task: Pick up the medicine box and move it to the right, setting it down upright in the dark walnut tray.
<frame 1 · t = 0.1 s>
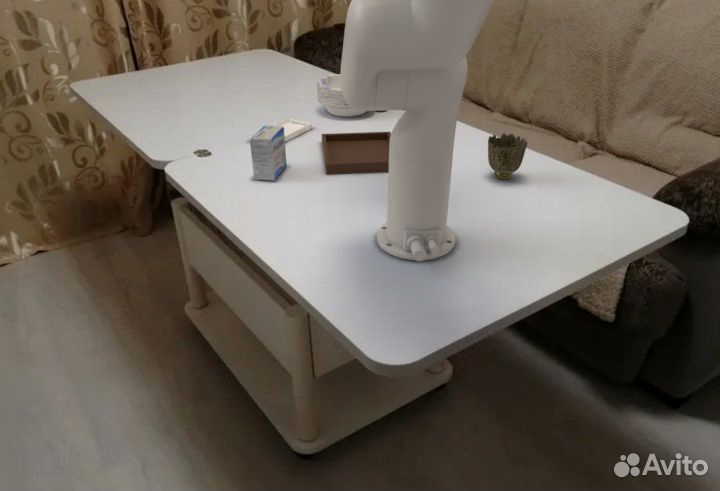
medicine box: (270, 173, 120), on the table
phone case: (281, 135, 139), on the table
tray: (360, 156, 128), on the table
cup: (502, 178, 118), on the table
paper bowls: (347, 112, 154), on the table
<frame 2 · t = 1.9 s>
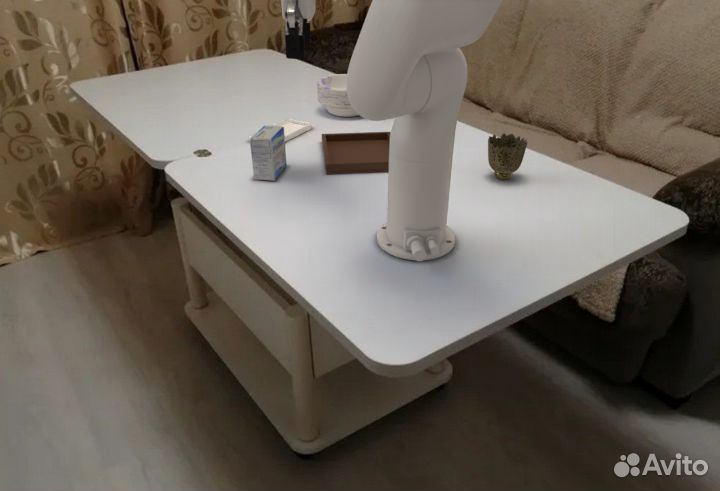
hand: (298, 51, 107), 24 cm above the table, tool pointing down, fingers open, 9 cm apart
nothing on the table moved.
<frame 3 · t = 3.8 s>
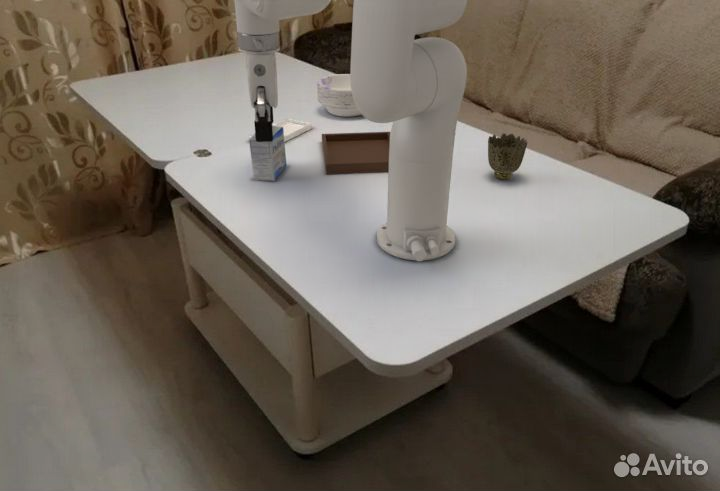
hand: (265, 131, 116), 9 cm above the table, tool pointing down, fingers open, 9 cm apart
medicine box: (270, 174, 120), on the table, touching gripper
everything else where it was.
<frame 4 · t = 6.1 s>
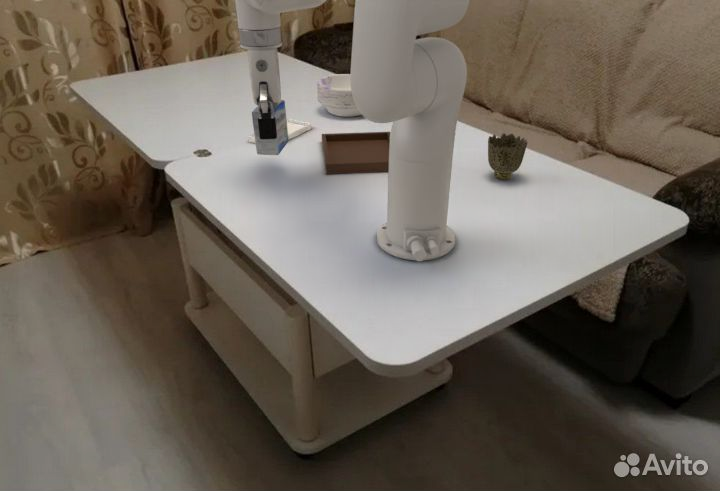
hand: (269, 130, 115), 9 cm above the table, tool pointing down, fingers closed on medicine box, 8 cm apart
medicine box: (273, 149, 117), point 5 cm above the table, touching gripper
everything else where it was.
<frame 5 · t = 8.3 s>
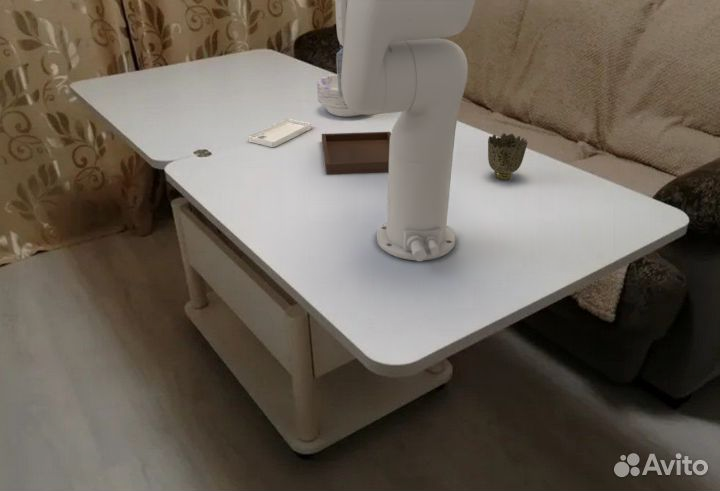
hand: (349, 74, 117), 18 cm above the table, tool pointing down, fingers closed on medicine box, 8 cm apart
medicine box: (351, 93, 119), point 14 cm above the table, touching gripper
everything else where it was.
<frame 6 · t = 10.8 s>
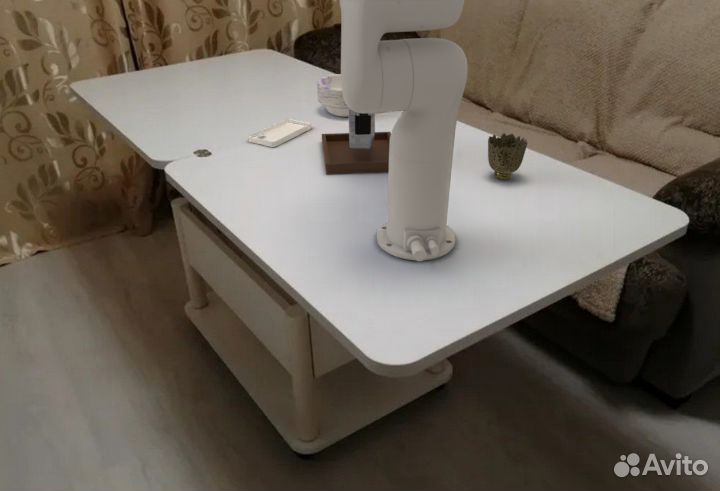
hand: (360, 126, 124), 7 cm above the table, tool pointing down, fingers closed on medicine box, 8 cm apart
medicine box: (362, 143, 126), point 3 cm above the table, touching gripper
everything else where it was.
when the fingers open (4 cm above the table, at t = 12.1 s): medicine box stays where it is, resting on tray.
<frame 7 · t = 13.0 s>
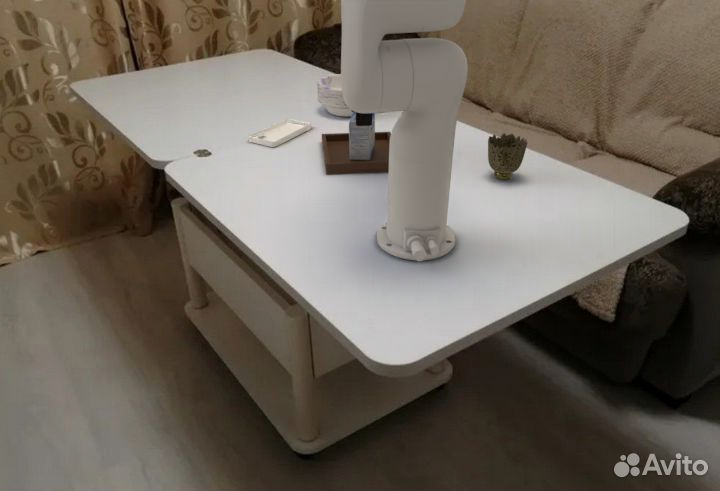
hand: (361, 118, 123), 9 cm above the table, tool pointing down, fingers open, 9 cm apart
medicine box: (362, 153, 127), point 1 cm above the table, touching gripper, tray
everything else where it was.
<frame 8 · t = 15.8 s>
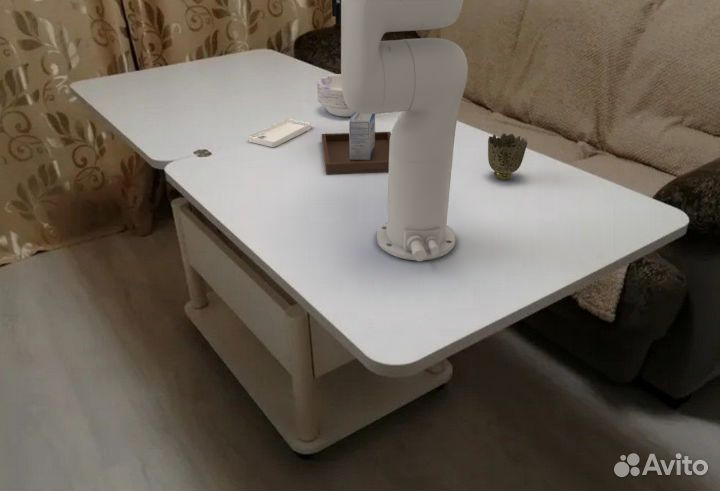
hand: (341, 20, 122), 26 cm above the table, tool pointing down, fingers open, 9 cm apart
medicine box: (362, 154, 127), resting on tray
everything else where it was.
at the end: medicine box inside the target area in the tray (0.4 cm from its centre), point 0.4 cm above the tray's base; medicine box tilted 0° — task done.
